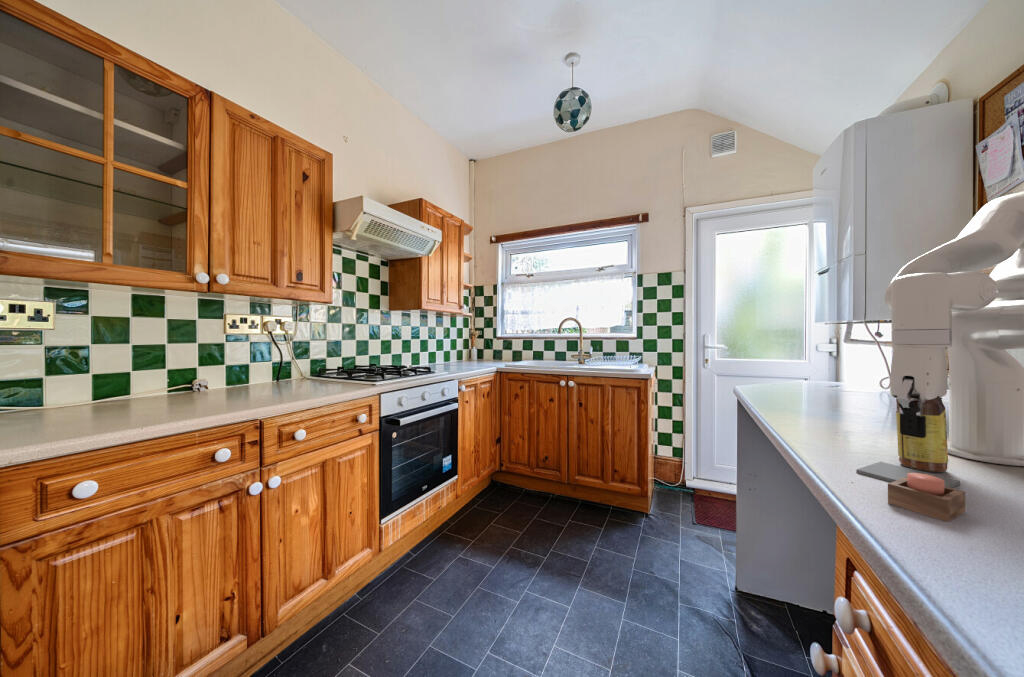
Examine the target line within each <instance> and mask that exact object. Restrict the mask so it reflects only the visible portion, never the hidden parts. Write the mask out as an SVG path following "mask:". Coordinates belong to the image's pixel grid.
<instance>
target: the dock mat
mask: <svg viewBox="0 0 1024 677" xmlns="http://www.w3.org/2000/svg"><path fill="white" fill-rule="evenodd" d="M855 471H856V474H860V475H862V476H868V477H872V478H875V479H878V480H882V481H886V482H888V483H891V482H894V481H896V480H899V479H901V478H904V477H907V474H908V473H921V474H927V475H931V476H935V477H938V478H941V479H943V480H944V486H945V487H949V488H953V489H954V488H955V487H957V486H959V485H961V480H960V479H956V478H951V477H946V476H943V475H938V474H935V473H930V472H928V471H921V470H917V469H913V468H909V467H906V466H901V465H897V464H893V463H888V462H884V461H878V462H874V463H872V464H869V465H866V466H862V467H860V468H857V469H856V470H855Z"/></svg>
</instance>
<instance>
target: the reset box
mask: <svg viewBox="0 0 1024 677" xmlns="http://www.w3.org/2000/svg"><path fill="white" fill-rule="evenodd" d="M887 504H888V505H892V504H893V505H892V506H896V507H899V508H902V509H905V510H908V511H912V512H914V513H918V514H921V515H924V516H927V517H928V516H929V517H931V518H934V519H938V520H939V521H943V522H947V523H949V522H950V521H952V520H953V519H956V518H957V517H959V516H961V515H963V514H964V513H965V514H966V491H963V490H959V489H956V488H954V487H953V488H949V487H945V486H944V496H942V497H941V496H937V495H933V494H930V493H926V492H922V491H919V490H915V489H911V488H908V487H907V477H904V478H901V479H899V480H896V481H894V482H888V483H887Z"/></svg>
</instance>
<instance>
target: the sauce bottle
mask: <svg viewBox="0 0 1024 677" xmlns="http://www.w3.org/2000/svg"><path fill="white" fill-rule="evenodd" d="M919 397H920V396H911V398H919ZM895 399H896V400H895V401H896V410H895V417H896V435H897V453H898V455H897V456H898V457H899V458H898V461H899V463H900V464H901V465H903V467H906V468H910V469H914V470H918V471H922V472H927V473H930V472H932V473H944V472H946V471H947V470H948V462H949V453H948V449H947V441H948V436H947V433H948V432H947V416H946V413H947V412H946V407H945V405H944V403H943V400H942V401H941V399H940V397H939V396H937V397H936V398H934V399H931V400H928V401H925V405H924V411H923V416H926V437H925V438H919V437H913V436H907V435H902V434H901V433H900V413H899V409H900V405H899V401H898V399H897V398H895ZM919 399H920V398H919ZM915 404H916V407H917V404H918V403H915Z"/></svg>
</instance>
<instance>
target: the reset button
mask: <svg viewBox="0 0 1024 677" xmlns="http://www.w3.org/2000/svg"><path fill="white" fill-rule="evenodd" d="M907 487H908V488H911V489H915V490H919V491H922V492H926V493H930V494H933V495H937V496H941V497H942V496H944V480H943V479H941V478H938V477H935V476H931V475H927V474H921V473H908V474H907Z"/></svg>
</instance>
